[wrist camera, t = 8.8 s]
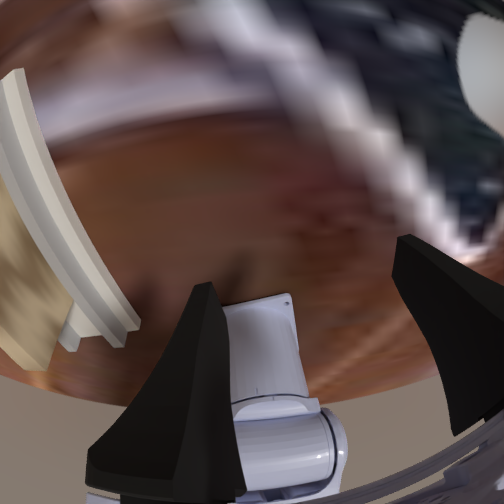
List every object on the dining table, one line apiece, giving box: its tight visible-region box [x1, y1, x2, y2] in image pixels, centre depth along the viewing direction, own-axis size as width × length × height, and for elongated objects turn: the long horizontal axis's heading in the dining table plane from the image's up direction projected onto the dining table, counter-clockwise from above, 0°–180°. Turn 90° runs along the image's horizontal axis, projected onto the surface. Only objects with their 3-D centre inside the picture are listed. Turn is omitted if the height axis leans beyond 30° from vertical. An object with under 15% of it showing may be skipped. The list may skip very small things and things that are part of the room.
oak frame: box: [0, 173, 73, 371], centre depth 13 cm, size 12×3×8 cm, turn 12°
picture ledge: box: [0, 68, 141, 352], centre depth 16 cm, size 24×10×3 cm, turn 12°
